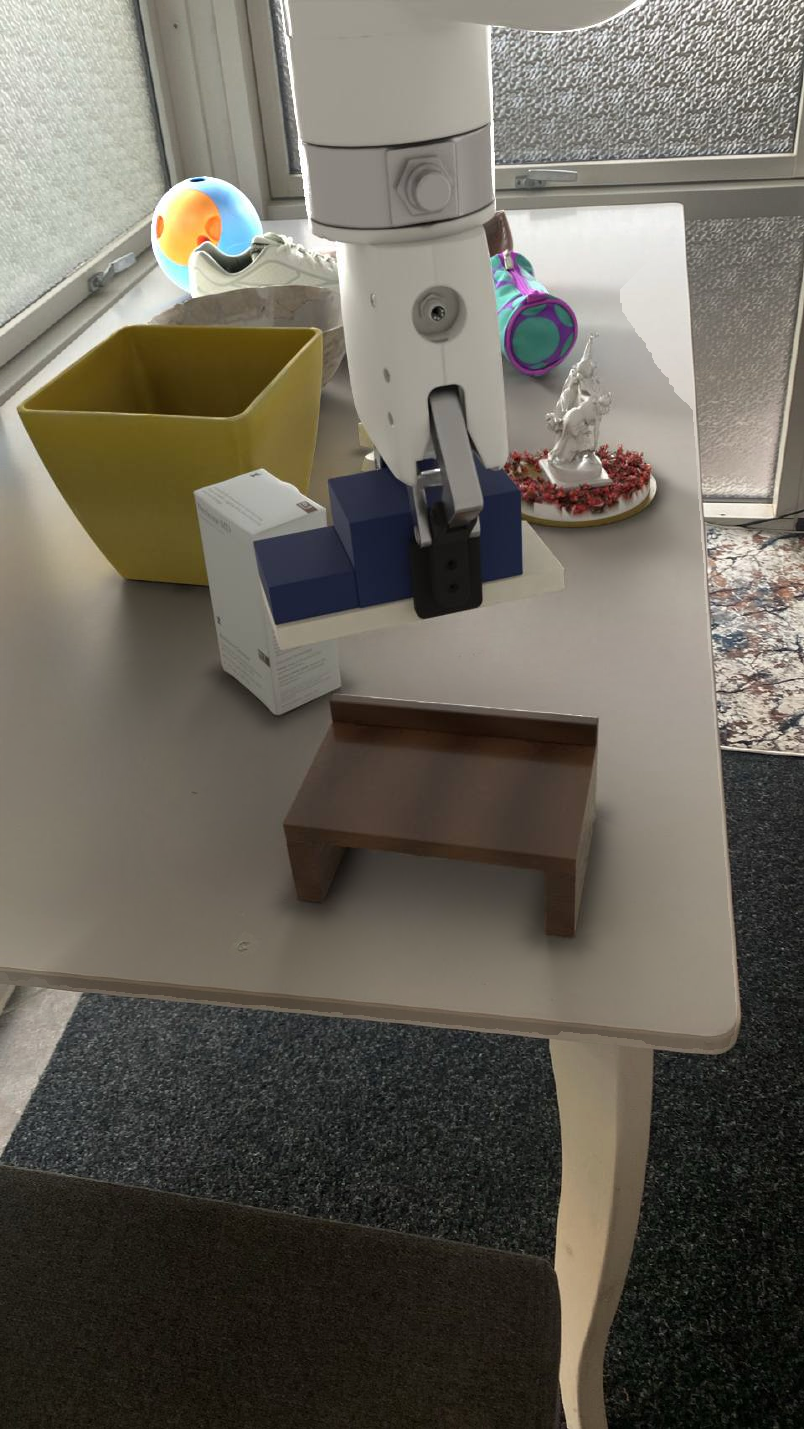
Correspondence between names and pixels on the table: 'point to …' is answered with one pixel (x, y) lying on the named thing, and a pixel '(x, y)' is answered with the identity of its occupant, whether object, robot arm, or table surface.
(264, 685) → the cosmetic box
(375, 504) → the navy stepped block
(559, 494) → the figurine
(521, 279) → the pencil case
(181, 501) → the flower pot
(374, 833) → the shelf
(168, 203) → the treat dispenser ball
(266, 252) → the running shoe
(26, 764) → the table surface
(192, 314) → the ceramic bowl
